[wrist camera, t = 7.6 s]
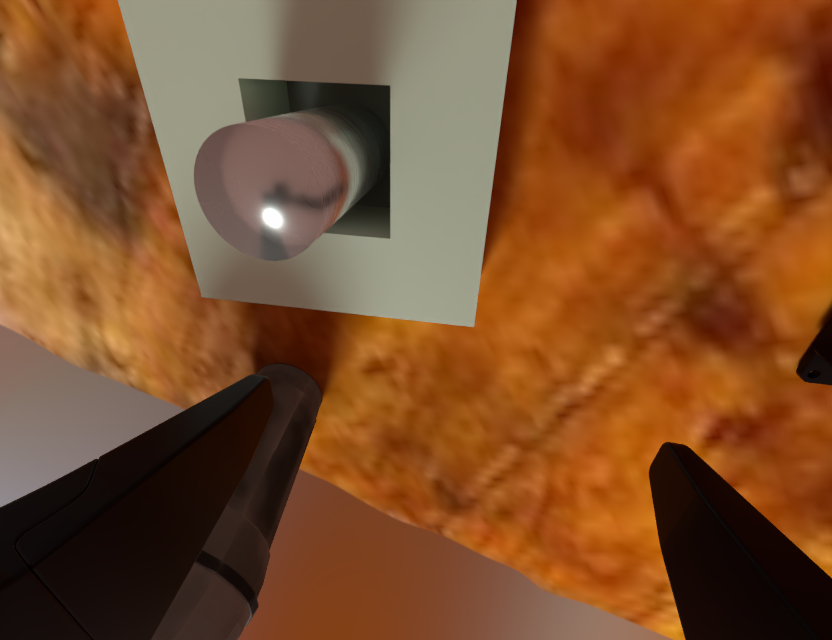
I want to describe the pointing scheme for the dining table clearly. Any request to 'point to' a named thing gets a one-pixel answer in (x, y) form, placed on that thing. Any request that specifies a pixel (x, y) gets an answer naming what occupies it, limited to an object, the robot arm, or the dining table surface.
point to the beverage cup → (247, 521)
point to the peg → (289, 176)
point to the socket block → (330, 84)
